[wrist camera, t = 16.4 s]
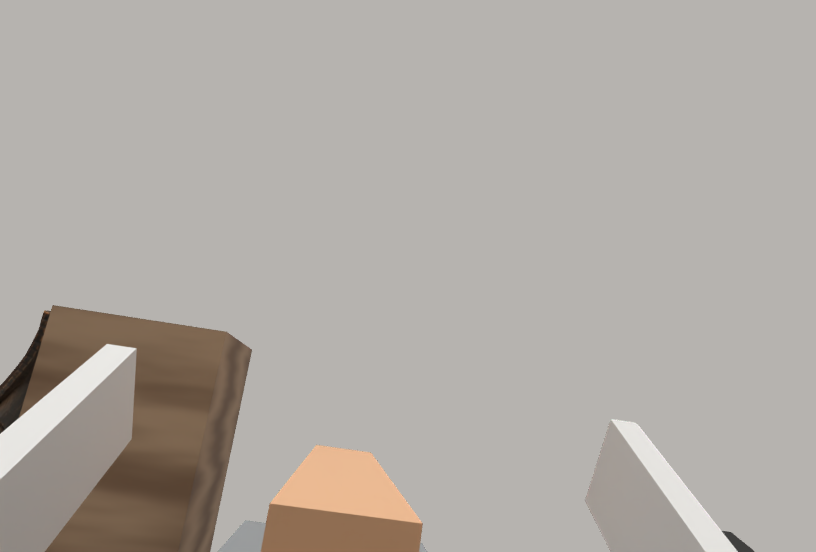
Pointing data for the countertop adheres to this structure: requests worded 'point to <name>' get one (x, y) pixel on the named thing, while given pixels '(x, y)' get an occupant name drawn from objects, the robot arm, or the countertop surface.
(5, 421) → the statue
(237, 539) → the slate pedestal
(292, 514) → the bar
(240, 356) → the walnut stand
